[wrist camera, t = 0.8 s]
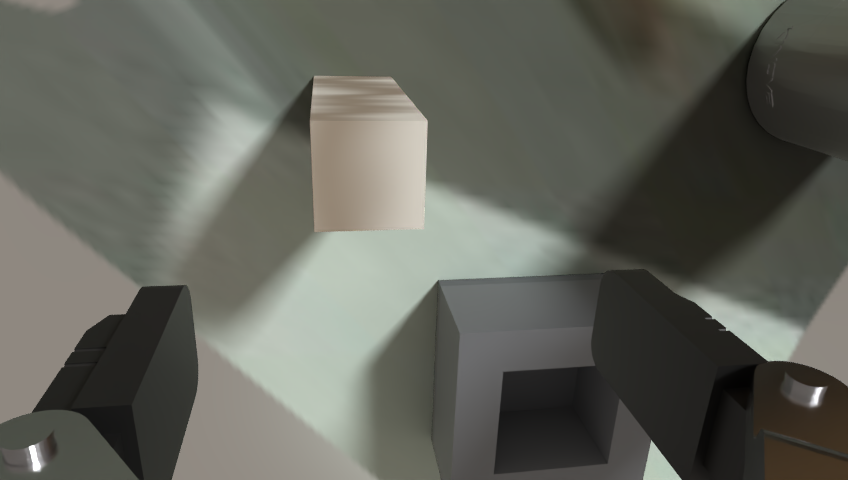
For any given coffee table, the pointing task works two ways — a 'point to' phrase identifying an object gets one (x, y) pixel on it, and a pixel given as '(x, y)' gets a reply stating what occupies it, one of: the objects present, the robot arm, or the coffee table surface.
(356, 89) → the wooden peg
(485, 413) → the well block
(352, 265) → the coffee table surface
